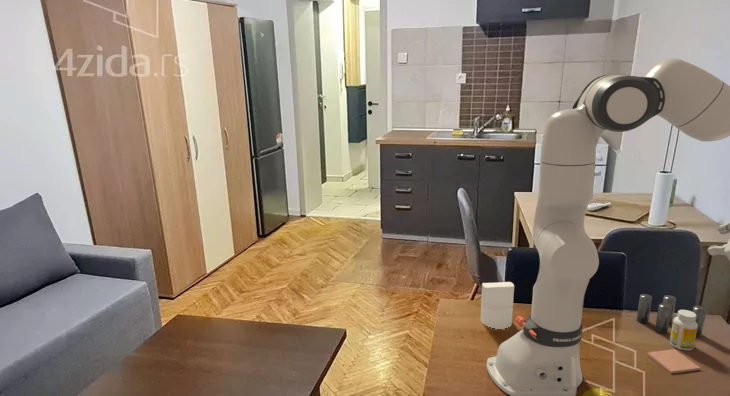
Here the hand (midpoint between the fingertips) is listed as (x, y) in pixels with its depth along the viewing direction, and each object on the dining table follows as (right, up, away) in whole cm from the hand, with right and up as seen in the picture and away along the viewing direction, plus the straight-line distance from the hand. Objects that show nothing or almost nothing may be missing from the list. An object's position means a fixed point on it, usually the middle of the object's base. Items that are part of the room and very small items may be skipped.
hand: (714, 240), depth 108 cm
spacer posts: (+4, -27, +23) cm, 36 cm away
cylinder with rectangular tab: (-43, -27, +29) cm, 59 cm away
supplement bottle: (+2, -30, +15) cm, 33 cm away
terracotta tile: (-5, -32, +8) cm, 33 cm away
